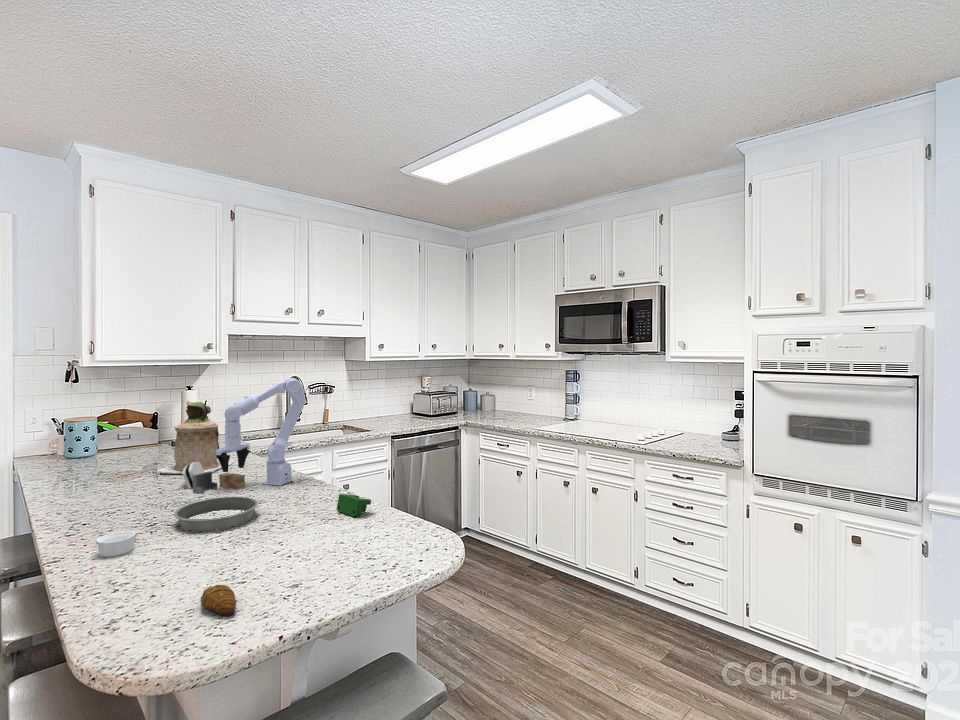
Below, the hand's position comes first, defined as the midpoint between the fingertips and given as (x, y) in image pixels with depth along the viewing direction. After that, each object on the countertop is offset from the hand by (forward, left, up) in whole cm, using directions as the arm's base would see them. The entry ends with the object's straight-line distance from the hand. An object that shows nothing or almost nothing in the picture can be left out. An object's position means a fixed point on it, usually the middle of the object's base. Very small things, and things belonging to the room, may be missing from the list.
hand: (233, 469), depth 212 cm
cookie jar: (+43, -17, -8) cm, 47 cm away
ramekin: (-26, +61, -8) cm, 66 cm away
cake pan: (-29, +31, -8) cm, 43 cm away
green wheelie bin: (-66, +7, -8) cm, 66 cm away
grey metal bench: (+6, +8, -7) cm, 12 cm away
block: (+1, 0, -7) cm, 7 cm away
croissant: (-79, +72, -8) cm, 107 cm away
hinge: (+19, +2, -8) cm, 21 cm away
